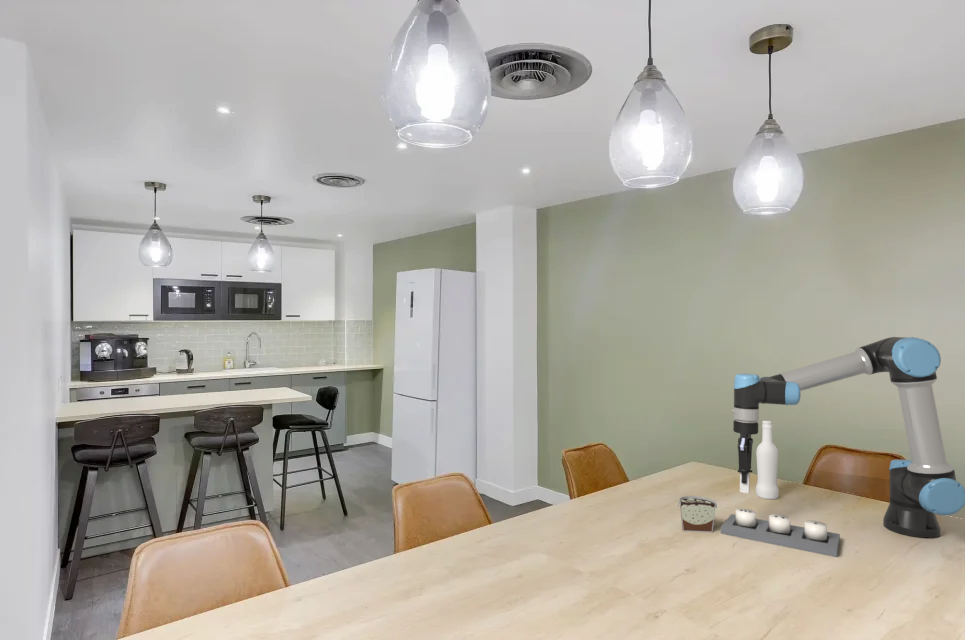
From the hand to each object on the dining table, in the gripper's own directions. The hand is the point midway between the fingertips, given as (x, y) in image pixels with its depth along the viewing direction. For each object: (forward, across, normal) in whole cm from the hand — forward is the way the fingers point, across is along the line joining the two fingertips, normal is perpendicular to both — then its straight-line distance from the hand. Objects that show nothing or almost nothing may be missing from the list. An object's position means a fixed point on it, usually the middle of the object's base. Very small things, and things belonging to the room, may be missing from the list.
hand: (744, 492), depth 188 cm
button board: (+12, 0, +10) cm, 16 cm away
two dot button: (+10, 0, +10) cm, 15 cm away
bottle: (+13, -45, 0) cm, 47 cm away
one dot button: (+10, 0, +20) cm, 23 cm away
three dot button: (+10, 0, 0) cm, 10 cm away
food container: (+13, +8, -14) cm, 20 cm away
